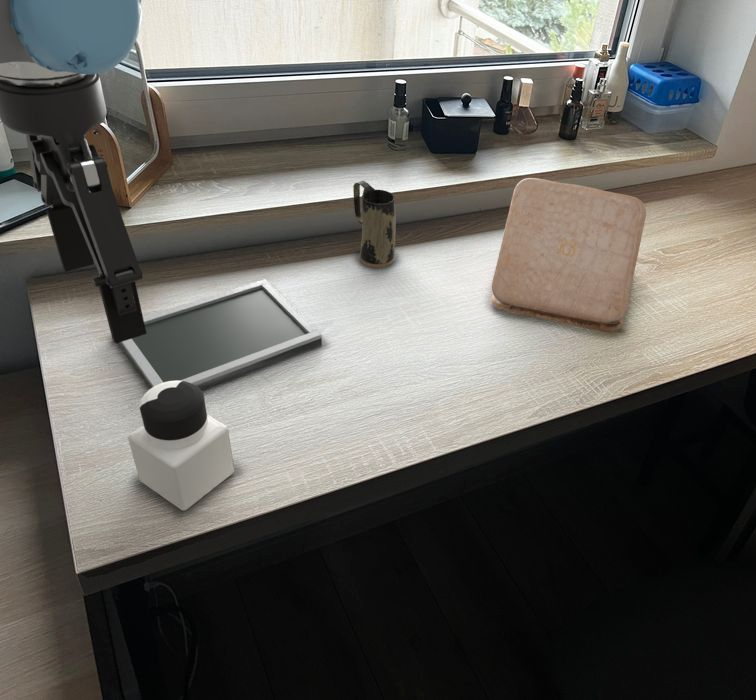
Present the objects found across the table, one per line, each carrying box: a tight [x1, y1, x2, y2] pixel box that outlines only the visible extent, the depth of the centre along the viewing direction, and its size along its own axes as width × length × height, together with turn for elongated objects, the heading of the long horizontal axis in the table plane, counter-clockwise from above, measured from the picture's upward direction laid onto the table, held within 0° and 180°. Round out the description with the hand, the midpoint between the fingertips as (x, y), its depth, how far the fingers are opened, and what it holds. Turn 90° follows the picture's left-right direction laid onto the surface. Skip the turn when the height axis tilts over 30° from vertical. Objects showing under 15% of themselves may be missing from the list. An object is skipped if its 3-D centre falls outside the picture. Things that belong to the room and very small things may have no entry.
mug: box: [352, 180, 397, 268], centre depth 115 cm, size 8×6×12 cm
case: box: [491, 177, 647, 333], centre depth 111 cm, size 20×21×16 cm
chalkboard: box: [117, 278, 323, 393], centre depth 97 cm, size 22×16×2 cm
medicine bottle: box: [127, 381, 235, 512], centre depth 75 cm, size 7×7×12 cm
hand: (102, 299), depth 68 cm, fingers open, 13 cm apart
